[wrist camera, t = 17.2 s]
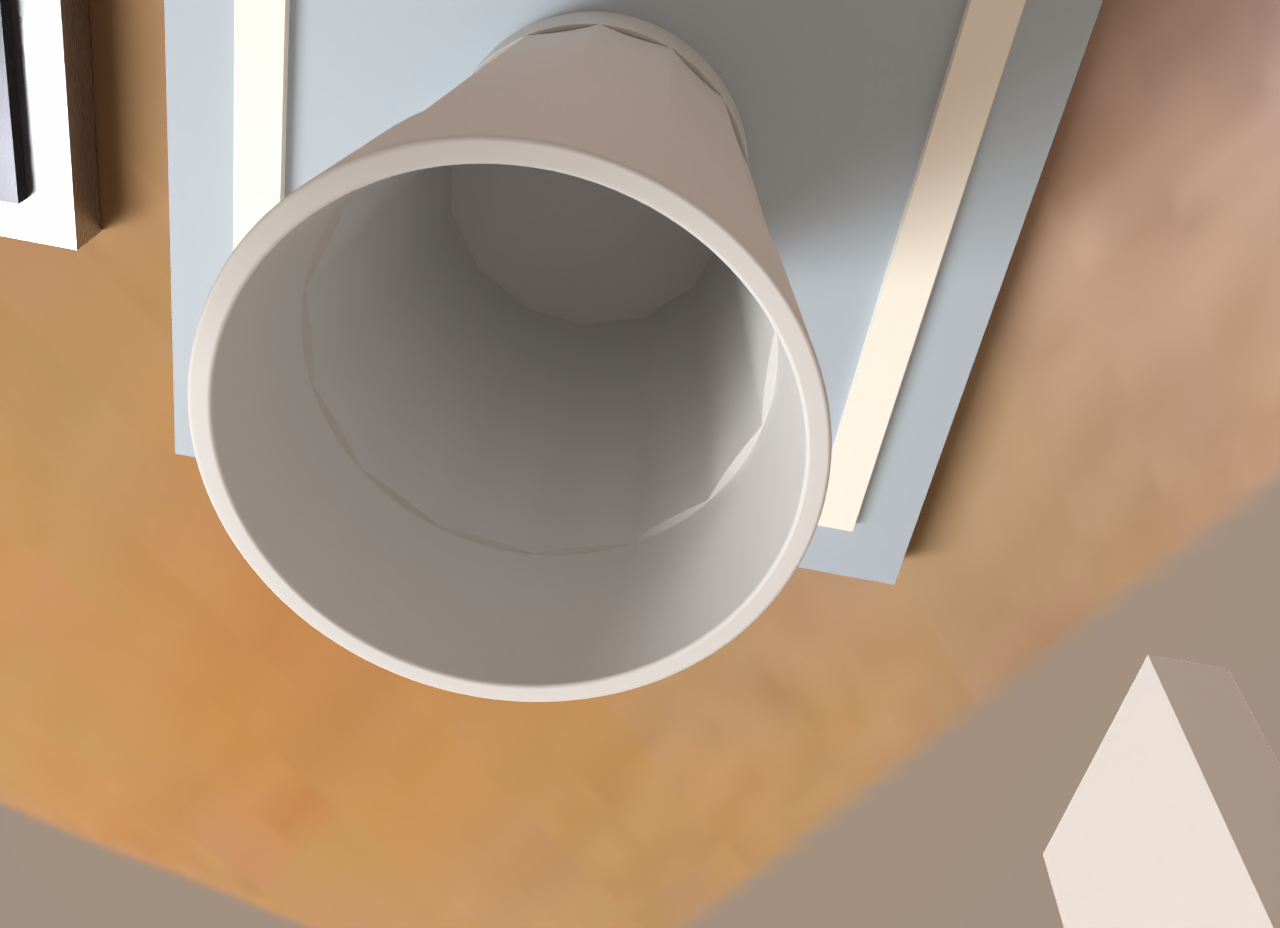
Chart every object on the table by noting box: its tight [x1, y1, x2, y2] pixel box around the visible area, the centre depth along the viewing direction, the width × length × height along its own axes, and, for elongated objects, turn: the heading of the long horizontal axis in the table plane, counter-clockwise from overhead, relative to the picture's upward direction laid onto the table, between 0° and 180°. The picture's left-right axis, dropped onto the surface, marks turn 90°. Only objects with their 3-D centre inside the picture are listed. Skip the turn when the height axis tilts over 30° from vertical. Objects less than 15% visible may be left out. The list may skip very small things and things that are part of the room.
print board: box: [164, 0, 1103, 585], centre depth 26 cm, size 18×18×1 cm
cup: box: [187, 11, 832, 702], centre depth 20 cm, size 8×8×12 cm
